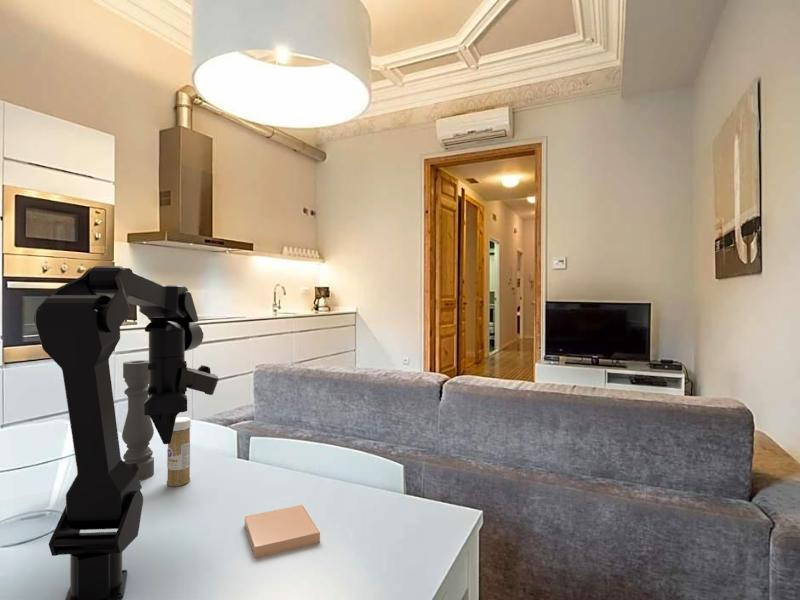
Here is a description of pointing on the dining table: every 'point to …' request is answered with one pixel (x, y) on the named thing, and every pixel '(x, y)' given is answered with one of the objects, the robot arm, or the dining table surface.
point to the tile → (280, 530)
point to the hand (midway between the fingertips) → (167, 443)
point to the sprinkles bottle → (179, 453)
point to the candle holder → (138, 418)
